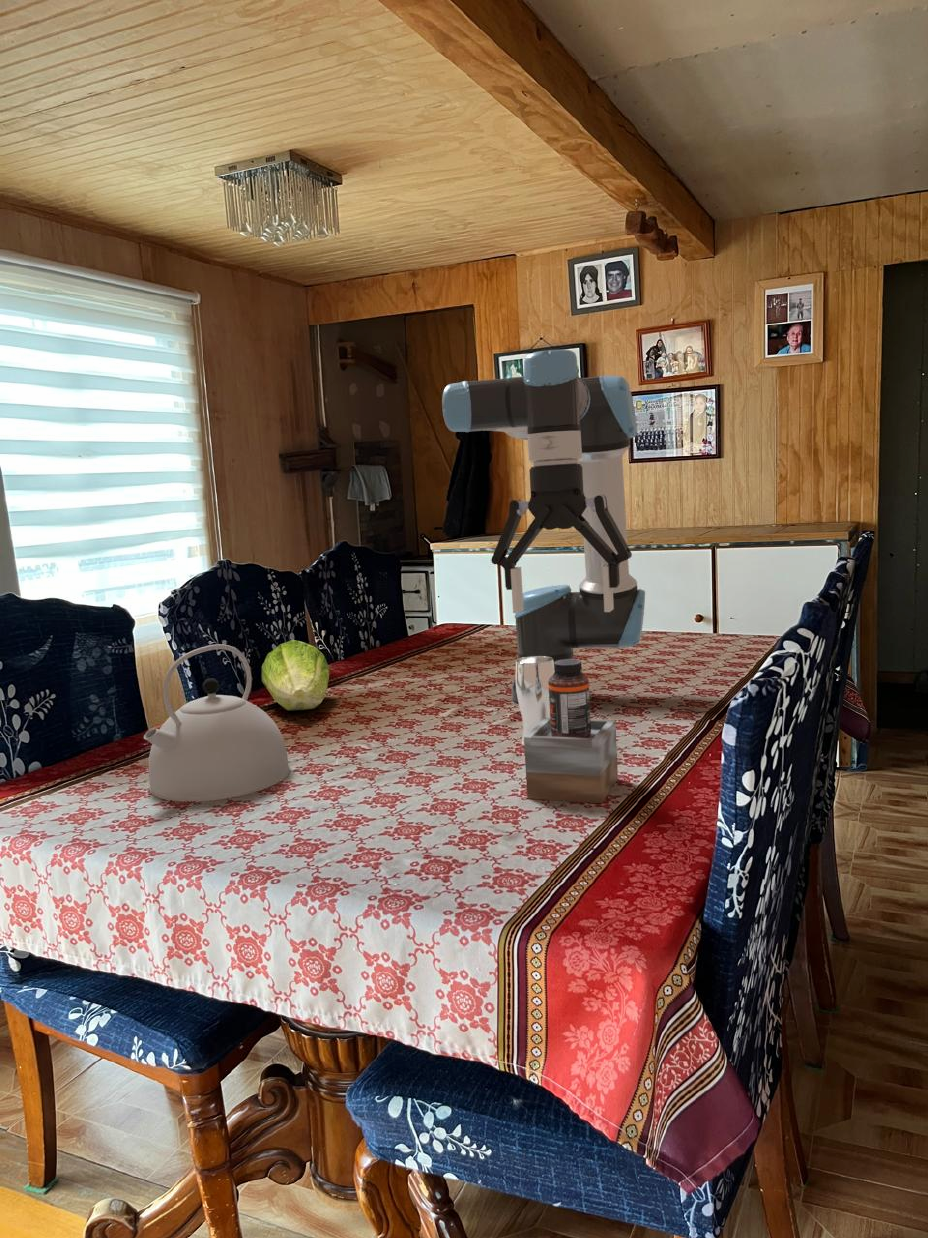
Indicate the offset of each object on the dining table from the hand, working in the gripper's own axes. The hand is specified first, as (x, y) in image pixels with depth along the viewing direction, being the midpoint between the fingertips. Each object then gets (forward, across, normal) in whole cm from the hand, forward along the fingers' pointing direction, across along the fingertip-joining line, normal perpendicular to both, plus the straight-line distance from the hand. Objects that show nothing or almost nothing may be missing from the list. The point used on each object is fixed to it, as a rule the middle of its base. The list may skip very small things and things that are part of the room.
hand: (562, 611), depth 136 cm
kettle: (+27, -59, -7) cm, 65 cm away
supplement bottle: (+19, 0, 0) cm, 19 cm away
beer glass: (+27, -12, +22) cm, 36 cm away
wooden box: (+27, 0, 0) cm, 27 cm away
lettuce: (+27, -70, +39) cm, 85 cm away
